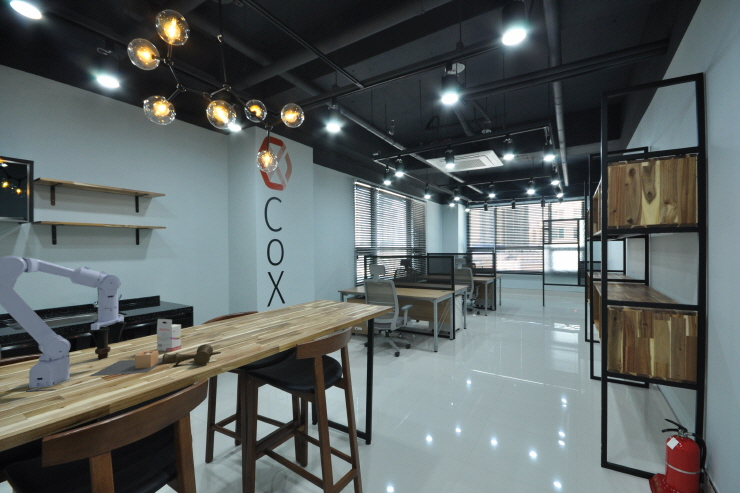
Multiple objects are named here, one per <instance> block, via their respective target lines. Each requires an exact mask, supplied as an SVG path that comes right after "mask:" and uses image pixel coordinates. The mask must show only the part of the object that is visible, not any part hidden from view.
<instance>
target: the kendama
mask: <svg viewBox="0 0 740 493" xmlns="http://www.w3.org/2000/svg"><path fill="white" fill-rule="evenodd" d="M221 353H222V351H216V352H214V349H213V346H212V345H210V344H206V343H204V344H200V346H198V347H197V349H196V353H195V354H194V353H193V354H182V353H179V352H176V353H174V354H169V353H167V352H165V353H163V355H162V357H161V358H162V363H161V364H162V365H166V364H173V363H175V365H176V366H177V365H178V364H180V363H182V362H185V361H189V360H193V363H194V364H195V365H197V366H198V367H199V366H205V365H207V364H208V363H210V360H211V359H210V358H211V357H212V356H214V355H219V354H221Z"/></svg>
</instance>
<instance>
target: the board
mask: <svg viewBox="0 0 740 493" xmlns="http://www.w3.org/2000/svg"><path fill="white" fill-rule="evenodd" d="M146 354H150V353H146ZM162 358H163V357H161V358H159V357H158V363H157V364H155V365H154V366H152V367H148V368H135V359H126V360H125V359H124V360H122V359H121V360H118V361H115V362H114V363H112V364H110V365H109V366H106V367H104V368H102V369H100V370H98V371H96V372H94V373H92V374H90V375H89V377H96V376H97V377H98V376H114V375H115V376H116V375H130V374H145V373H146V374H147V373H149V372H151V371H152V370H153V369H154V368H155V369H156V368H157V367H158V366H159V365H161V364H162Z"/></svg>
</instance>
